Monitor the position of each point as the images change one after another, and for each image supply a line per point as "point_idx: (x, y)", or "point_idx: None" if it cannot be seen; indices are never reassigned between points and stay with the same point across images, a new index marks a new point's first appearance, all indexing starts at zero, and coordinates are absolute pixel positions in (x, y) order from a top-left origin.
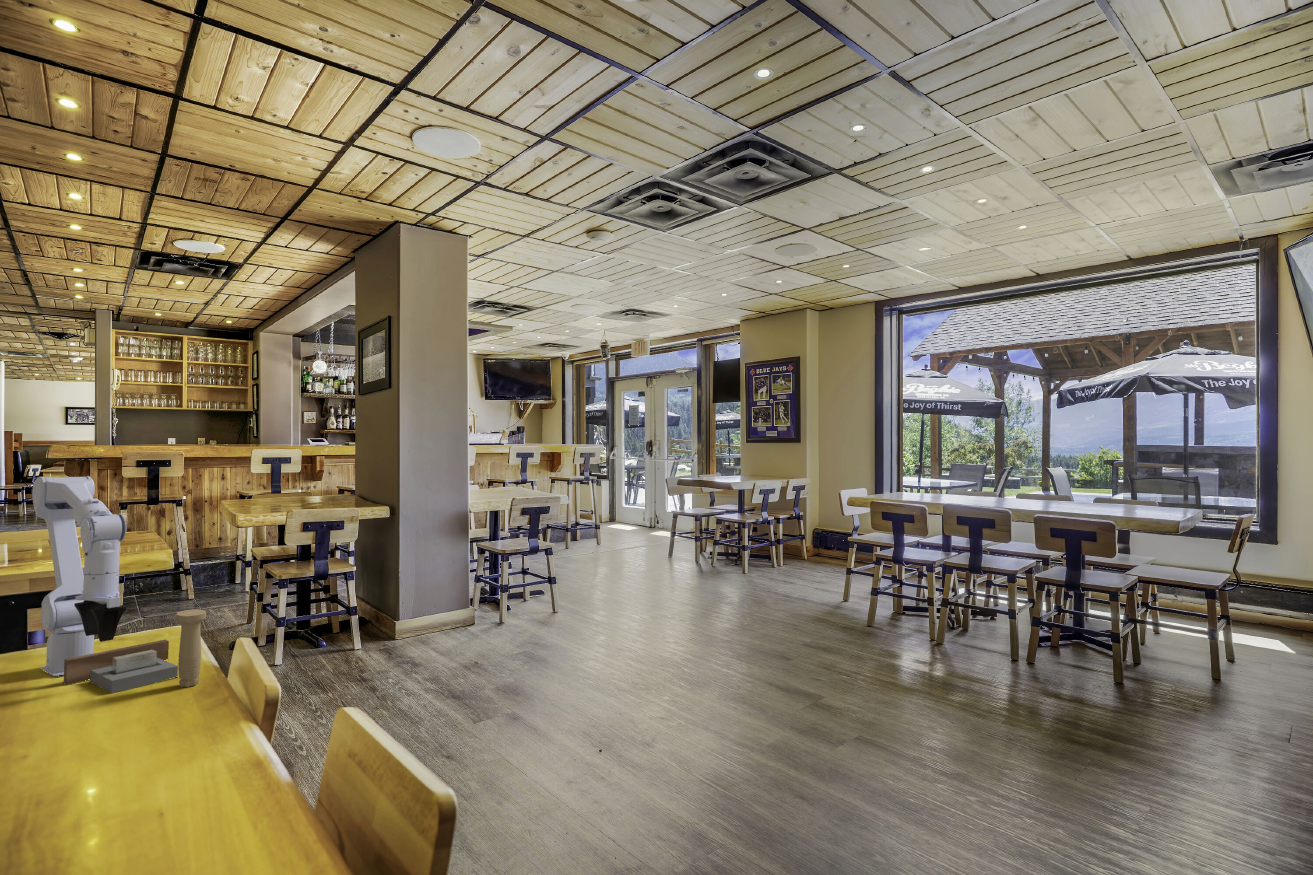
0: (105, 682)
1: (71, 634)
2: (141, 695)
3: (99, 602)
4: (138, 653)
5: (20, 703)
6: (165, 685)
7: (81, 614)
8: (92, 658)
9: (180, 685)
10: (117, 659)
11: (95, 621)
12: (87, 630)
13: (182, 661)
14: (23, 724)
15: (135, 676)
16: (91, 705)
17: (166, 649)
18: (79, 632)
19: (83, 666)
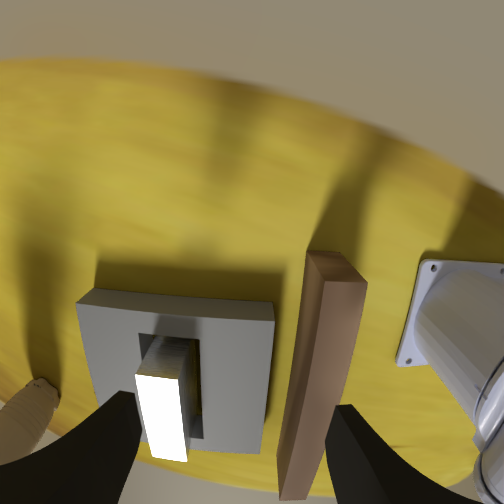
0: (133, 302)
1: (490, 366)
2: (33, 313)
3: None
4: (167, 432)
5: (215, 96)
6: (73, 374)
7: (397, 493)
8: (309, 353)
9: (39, 378)
10: (136, 375)
11: (345, 486)
12: (344, 428)
13: (2, 409)
14: (28, 77)
15: (87, 355)
16: (34, 216)
17: (279, 479)
18: (480, 391)
19: (309, 315)
